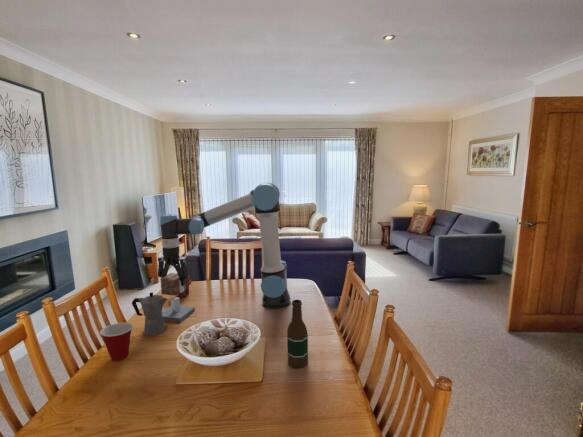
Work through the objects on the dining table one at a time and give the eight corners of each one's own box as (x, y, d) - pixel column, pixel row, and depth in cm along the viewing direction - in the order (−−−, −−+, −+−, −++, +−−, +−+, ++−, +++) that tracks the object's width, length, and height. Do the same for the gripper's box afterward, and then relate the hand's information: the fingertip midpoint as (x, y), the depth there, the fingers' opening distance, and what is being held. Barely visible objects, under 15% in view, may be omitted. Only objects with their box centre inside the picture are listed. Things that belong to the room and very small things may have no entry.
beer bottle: (293, 372, 102) (292, 307, 98) (283, 359, 108) (282, 299, 105) (312, 365, 105) (311, 302, 101) (301, 353, 112) (301, 294, 108)
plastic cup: (142, 350, 115) (139, 322, 113) (118, 368, 105) (114, 337, 103) (121, 346, 119) (118, 318, 117) (96, 362, 109) (92, 332, 107)
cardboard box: (161, 294, 140) (160, 277, 138) (172, 287, 147) (170, 272, 146) (176, 295, 138) (175, 279, 136) (186, 289, 145) (184, 273, 144)
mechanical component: (194, 291, 173) (188, 298, 163) (178, 291, 173) (170, 299, 163) (193, 272, 171) (186, 278, 161) (176, 272, 171) (169, 278, 161)
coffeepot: (173, 324, 135) (170, 288, 132) (165, 335, 126) (162, 296, 123) (140, 325, 135) (136, 289, 132) (129, 336, 125) (125, 297, 123)
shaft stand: (194, 310, 149) (193, 295, 147) (180, 322, 137) (179, 305, 136) (172, 308, 152) (171, 293, 150) (157, 319, 140) (155, 303, 139)
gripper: (146, 247, 138) (150, 292, 141) (185, 249, 133) (188, 296, 136) (157, 243, 145) (160, 286, 148) (194, 245, 140) (197, 290, 144)
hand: (174, 291), depth 142 cm, fingers closed on cardboard box, 8 cm apart
